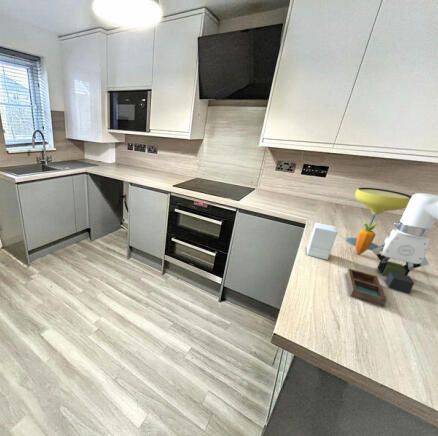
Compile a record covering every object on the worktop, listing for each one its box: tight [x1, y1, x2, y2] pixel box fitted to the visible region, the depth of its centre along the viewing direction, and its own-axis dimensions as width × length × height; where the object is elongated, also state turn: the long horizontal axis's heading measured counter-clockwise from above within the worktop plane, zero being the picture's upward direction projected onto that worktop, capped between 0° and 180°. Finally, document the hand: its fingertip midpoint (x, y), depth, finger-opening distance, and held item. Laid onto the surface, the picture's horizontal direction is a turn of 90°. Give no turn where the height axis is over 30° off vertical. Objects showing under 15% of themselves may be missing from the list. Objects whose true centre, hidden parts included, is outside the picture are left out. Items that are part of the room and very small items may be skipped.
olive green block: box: [381, 260, 406, 277], centre depth 87 cm, size 5×5×4 cm
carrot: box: [355, 222, 378, 255], centre depth 98 cm, size 5×5×15 cm
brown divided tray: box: [346, 268, 387, 307], centre depth 78 cm, size 8×15×3 cm, turn 146°
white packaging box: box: [306, 222, 338, 260], centre depth 98 cm, size 7×7×13 cm
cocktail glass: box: [347, 187, 413, 250], centre depth 106 cm, size 18×18×25 cm
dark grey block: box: [384, 271, 415, 294], centre depth 80 cm, size 5×5×4 cm
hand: (390, 273), depth 87 cm, fingers closed on olive green block, 5 cm apart
